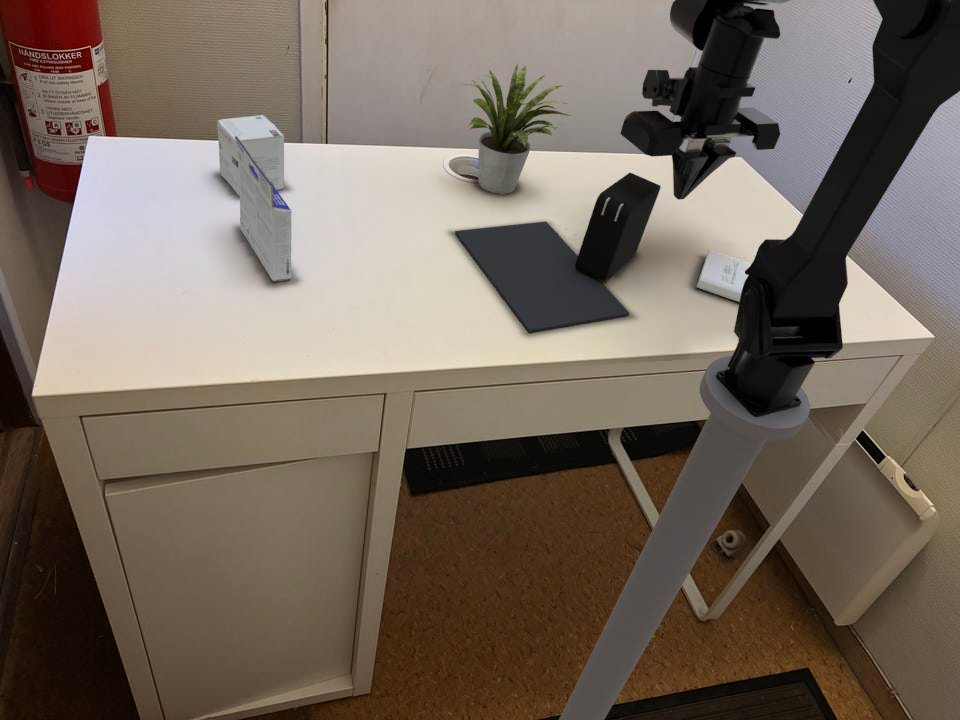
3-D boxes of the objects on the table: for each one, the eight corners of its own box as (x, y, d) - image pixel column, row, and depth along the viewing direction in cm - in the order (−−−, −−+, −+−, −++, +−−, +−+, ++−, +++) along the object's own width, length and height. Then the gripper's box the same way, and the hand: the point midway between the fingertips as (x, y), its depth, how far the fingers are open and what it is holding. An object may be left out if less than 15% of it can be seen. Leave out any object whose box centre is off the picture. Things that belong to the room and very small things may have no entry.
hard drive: (797, 324, 89) (695, 288, 92) (800, 290, 95) (705, 258, 98) (802, 313, 88) (700, 277, 91) (806, 279, 94) (709, 247, 97)
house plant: (483, 223, 96) (506, 98, 85) (421, 174, 103) (435, 53, 93) (563, 201, 104) (593, 84, 93) (500, 157, 111) (521, 44, 101)
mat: (628, 315, 85) (629, 313, 85) (528, 333, 80) (529, 330, 80) (545, 224, 98) (546, 221, 98) (454, 233, 93) (455, 230, 93)
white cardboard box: (219, 175, 95) (215, 119, 90) (265, 167, 98) (263, 113, 93) (239, 197, 91) (236, 140, 87) (286, 189, 95) (285, 134, 90)
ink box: (294, 280, 80) (294, 182, 73) (272, 284, 79) (270, 185, 72) (259, 225, 87) (255, 131, 80) (239, 228, 86) (233, 133, 79)
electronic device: (635, 255, 96) (663, 183, 90) (603, 284, 88) (630, 209, 82) (606, 241, 97) (631, 170, 91) (572, 269, 90) (597, 194, 84)
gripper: (743, 41, 90) (698, 162, 100) (613, 40, 82) (579, 170, 92) (808, 78, 83) (753, 204, 93) (672, 80, 75) (628, 217, 85)
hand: (678, 197), depth 91 cm, fingers closed
